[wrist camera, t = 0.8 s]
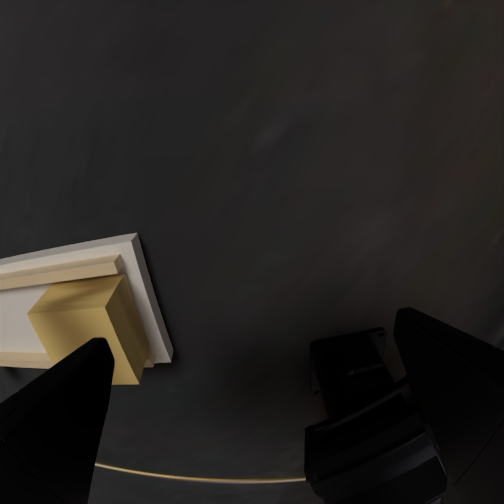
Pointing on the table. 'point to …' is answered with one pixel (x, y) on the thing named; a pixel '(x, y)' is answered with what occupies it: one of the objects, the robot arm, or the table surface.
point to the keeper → (93, 322)
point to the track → (67, 269)
